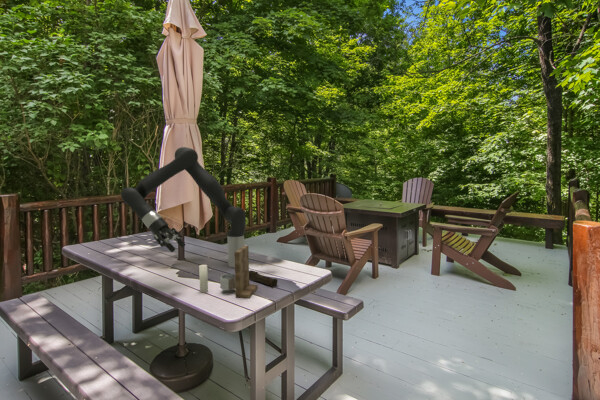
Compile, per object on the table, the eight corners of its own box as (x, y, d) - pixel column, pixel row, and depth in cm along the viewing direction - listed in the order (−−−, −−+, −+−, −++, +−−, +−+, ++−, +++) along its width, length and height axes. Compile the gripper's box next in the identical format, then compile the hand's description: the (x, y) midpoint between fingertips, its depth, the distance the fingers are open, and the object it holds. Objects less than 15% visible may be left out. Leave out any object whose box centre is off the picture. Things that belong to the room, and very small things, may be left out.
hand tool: (278, 286, 160) (278, 276, 159) (271, 288, 157) (271, 278, 156) (252, 277, 173) (252, 268, 172) (246, 279, 170) (246, 270, 169)
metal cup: (224, 284, 157) (224, 273, 156) (243, 285, 155) (242, 274, 154) (218, 289, 150) (218, 278, 149) (237, 290, 148) (237, 279, 148)
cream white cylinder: (202, 289, 155) (201, 264, 154) (209, 290, 154) (208, 264, 153) (198, 292, 152) (197, 266, 150) (205, 293, 151) (204, 267, 150)
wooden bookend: (245, 287, 158) (244, 245, 156) (257, 288, 157) (256, 246, 154) (235, 297, 146) (234, 252, 144) (248, 298, 145) (248, 252, 143)
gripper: (150, 219, 146) (175, 246, 145) (169, 214, 160) (192, 239, 159) (140, 231, 148) (165, 258, 147) (159, 225, 162) (182, 250, 161)
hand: (179, 248), depth 153 cm, fingers open, 8 cm apart
